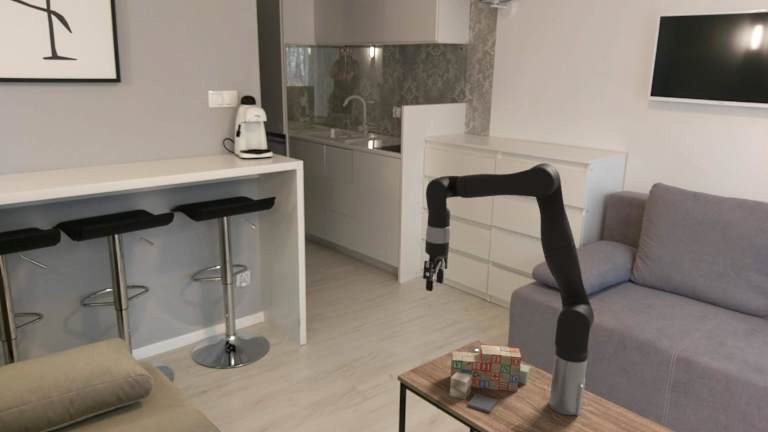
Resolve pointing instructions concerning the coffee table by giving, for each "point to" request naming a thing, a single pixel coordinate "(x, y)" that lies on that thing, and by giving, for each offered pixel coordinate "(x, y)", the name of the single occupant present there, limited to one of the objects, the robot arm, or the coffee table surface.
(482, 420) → the coffee table surface
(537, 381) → the coffee table surface
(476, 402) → the charcoal pad
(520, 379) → the sage green block
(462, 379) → the cream block
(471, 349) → the grey capsule
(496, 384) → the stack of blocks
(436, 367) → the coffee table surface
